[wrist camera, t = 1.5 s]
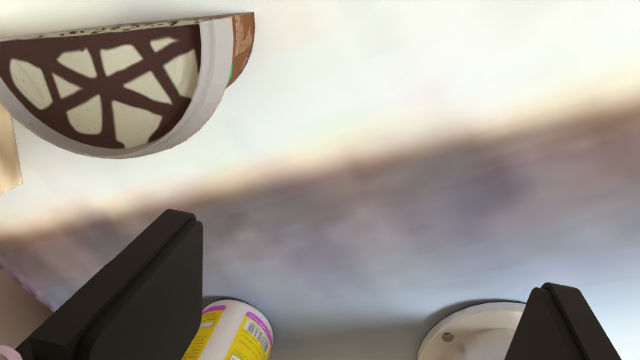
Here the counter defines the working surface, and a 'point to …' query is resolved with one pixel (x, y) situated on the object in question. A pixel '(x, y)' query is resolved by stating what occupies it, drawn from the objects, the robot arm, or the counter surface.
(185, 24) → the food container
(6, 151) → the maple board
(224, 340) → the supplement bottle
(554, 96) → the counter surface
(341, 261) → the counter surface
